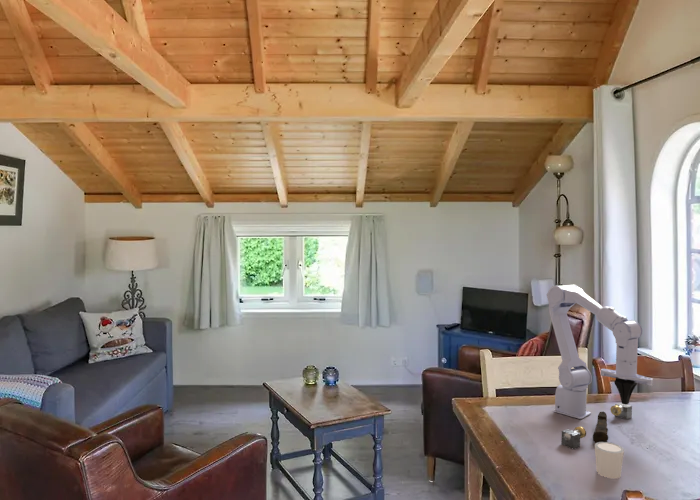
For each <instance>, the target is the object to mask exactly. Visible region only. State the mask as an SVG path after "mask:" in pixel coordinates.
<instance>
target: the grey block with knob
mask: <svg viewBox="0 0 700 500" xmlns="http://www.w3.org/2000/svg"><path fill="white" fill-rule="evenodd" d="M609 410H610V413H611V414H612V415H613V416H615V417H618V418H620V419H625V420H629V419H632V417H633V416H632V414H633V406H632V405H631V404H627V405H625V404H622V402H617V403H615V405H611V407H610V409H609Z"/></svg>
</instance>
